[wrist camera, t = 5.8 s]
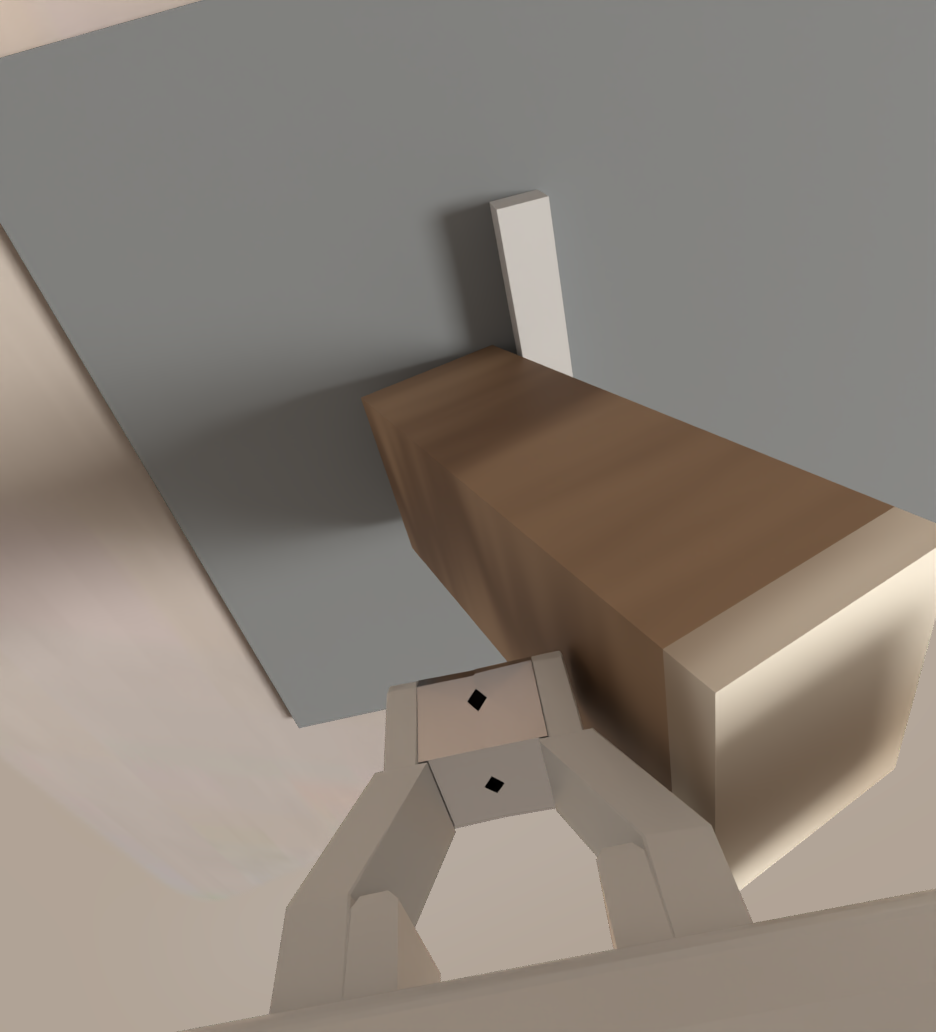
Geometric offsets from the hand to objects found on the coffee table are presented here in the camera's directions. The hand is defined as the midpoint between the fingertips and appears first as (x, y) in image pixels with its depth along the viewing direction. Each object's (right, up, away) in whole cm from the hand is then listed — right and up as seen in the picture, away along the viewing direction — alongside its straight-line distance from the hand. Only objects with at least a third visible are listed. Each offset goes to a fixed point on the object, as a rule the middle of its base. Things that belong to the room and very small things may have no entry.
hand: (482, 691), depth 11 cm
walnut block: (-1, +5, +7) cm, 9 cm away
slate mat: (+3, +7, +8) cm, 11 cm away
